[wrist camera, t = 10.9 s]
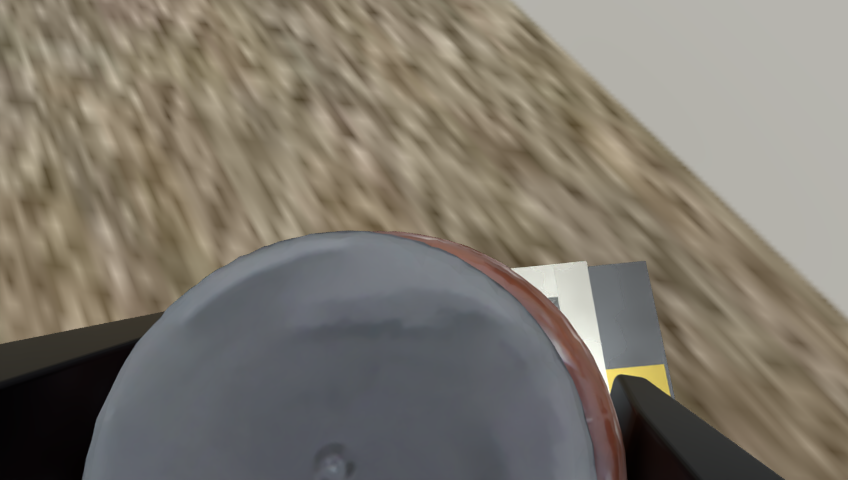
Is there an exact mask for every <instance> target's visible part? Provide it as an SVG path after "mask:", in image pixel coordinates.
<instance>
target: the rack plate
mask: <svg viewBox="0 0 848 480" xmlns="http://www.w3.org/2000/svg"><path fill="white" fill-rule="evenodd" d="M512 270H513V271H515V272H516V273H517V274H519V275H520V276H522V277H523V278H524V279H526V280H527V281H528V282H529V283H531V284H532V285H533V286H535V287H536V288H537V289H538V290H540V291H541V292H542V293H543V294H544V295H545V296H546V297H547V298H548V299H549V300H550V301H551V302H552V303H553V304H554V305H555V306H556V307H557V308H558V309H559V310H560V311H561V312H562V313H563V314H564V315H565V316H566V317H567V319H568V320H569V322H570V323H571V324H572V326H573V327H574V329H575V330H576V332H577V333H578V334H579V336H580V337H581V339H582V340H583V341H584V343H585V344H586V346H587V347H588V348H589V350H590V352H591V354H592V355H593V357H594V359H595V362H596V364H597V366H598V368H599V370H600V372H601V374H602V376H603V378H604V380H605V383H606V385H607V388H608V391H609V393H610V392H611V388H612V384H613V381H614V378H615V377H616V376H617V375H619V374H625V375H631V376H637V377H642V378H645V379H647V380H648V381H650V382H651V383H652V384H654V385H655V386H657V387H658V388H659V389H661V390H662V391H663V392H665V393H666V394H668V395H669V396H670V397H672V398H673V399H674V400H675V398H674V393H673V388H672V383H671V379H670V374H669V369H668V365H667V360H666V355H665V350H664V346H663V341H662V336H661V332H660V327H659V322H658V318H657V313H656V308H655V303H654V299H653V294H652V289H651V285H650V280H649V275H648V270H647V266H646V261H639V262H629V263H620V264H610V265H600V266H590V267H587V262H586V261H582V262H572V263H562V264H552V265H542V266H533V267H523V268H513V269H512Z"/></svg>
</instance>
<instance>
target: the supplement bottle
mask: <svg viewBox="0 0 848 480" xmlns="http://www.w3.org/2000/svg"><path fill="white" fill-rule="evenodd" d="M82 480H627V470H626V457H625V448H624V444H623V437H622V431H621V428H620V424H619V421H618V417H617V414H616V411H615V408H614V405H613V402H612V399H611V396H610V393H609V391H608V388H607V385H606V383H605V380H604V378H603V376H602V374H601V372H600V370H599V368H598V366H597V364H596V362H595V359H594V357H593V355H592V354H591V352H590V350H589V348H588V347H587V346H586V344H585V343H584V341H583V340H582V339H581V337H580V336H579V334H578V333H577V332H576V330H575V329H574V327H573V326H572V324H571V323H570V322H569V320H568V319H567V317H566V316H565V315H564V314H563V313H562V312H561V311H560V310H559V309H558V308H557V307H556V306H555V305H554V304H553V303H552V302H551V301H550V300H549V299H548V298H547V297H546V296H545V295H544V294H543V293H542V292H541V291H540V290H538V289H537V288H536V287H535V286H533V285H532V284H531V283H529V282H528V281H527V280H526V279H524V278H523V277H522V276H520V275H519V274H517V273H516V272H515V271H513V270H512V269H510V268H509V267H507V266H506V265H504V264H503V263H501V262H499V261H497V260H495V259H493V258H491V257H489V256H487V255H485V254H483V253H481V252H479V251H477V250H474V249H472V248H470V247H468V246H465V245H462V244H458V243H455V242H452V241H448V240H445V239H441V238H436V237H431V236H426V235H420V234H414V233H405V232H397V231H392V232H383V231H373V232H370V231H337V232H326V233H315V234H309V235H306V236H302V237H297V238H292V239H288V240H284V241H280V242H277V243H274V244H272V245H269V246H264V247H262V248H260V249H258V250H256V251H254V252H252V253H250V254H247V255H244V256H240V257H238V258H237V259H235V260H234V261H232V262H231V263H229V264H228V265H225V266H223V267H221V268H219V269H217V270H215V271H214V272H213V273H211V274H210V275H208V276H207V277H205V278H204V279H203V280H202V281H200V282H199V283H198V284H197V285H195V286H194V287H192V288H191V289H189V290H188V291H187V292H186V293H185V294H184V295H183V296H181V297H180V298H179V299H178V300H177V301H175V302H174V303H173V304H172V305H170V306H169V307H168V308H167V310H166V311H165V312H164V314H163V315H162V316H161V318H160V319H159V320H158V321H157V322H156V323H154V324H153V326H152V327H151V328H150V329H149V330H148V331H147V332H146V333H145V334H144V335H143V337H142V338H141V339H140V340H139V341H138V342H137V343H136V345H135V346H134V348H133V350H132V351H131V353H130V354H129V356H128V357H127V359H126V361H125V362H124V364H123V366H122V367H121V369H120V371H119V373H118V375H117V377H116V380H115V382H114V384H113V386H112V388H111V390H110V392H109V394H108V396H107V399H106V401H105V403H104V405H103V407H102V409H101V411H100V413H99V415H98V417H97V419H96V423H95V428H94V432H93V437H92V441H91V444H90V448H89V451H88V454H87V457H86V462H85V467H84V472H83V477H82Z"/></svg>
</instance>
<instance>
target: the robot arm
mask: <svg viewBox="0 0 848 480" xmlns="http://www.w3.org/2000/svg"><path fill="white" fill-rule="evenodd" d="M163 314H164V312H160V313H155V314H150V315H145V316H140V317H135V318H129V319H124V320H119V321H114V322H109V323H104V324H99V325H94V326H89V327H84V328H79V329H74V330H69V331H64V332H59V333H54V334H49V335H44V336H39V337H34V338H29V339H24V340H19V341H14V342H9V343H4V344H0V480H82V477H83V472H84V467H85V462H86V457H87V454H88V451H89V448H90V444H91V441H92V437H93V432H94V428H95V423H96V419H97V417H98V415H99V413H100V411H101V409H102V407H103V405H104V403H105V401H106V399H107V396H108V394H109V392H110V390H111V388H112V386H113V384H114V382H115V380H116V377H117V375H118V373H119V371H120V369H121V367H122V366H123V364H124V362H125V361H126V359H127V357H128V356H129V354H130V353H131V351H132V350H133V348H134V346H135V345H136V343H137V342H138V341H139V340H140V339H141V338H142V337H143V335H144V334H145V333H146V332H147V331H148V330H149V329H150V328H151V327H152V326H153V324H154V323H156V322H157V321H158V320H159V319H160V318H161V316H162V315H163ZM610 396H611V399H612V402H613V405H614V408H615V411H616V414H617V417H618V421H619V424H620V428H621V431H622V437H623V444H624V448H625V457H626V470H627V480H785V479H783V478H782V477H781V476H779V475H778V474H776V473H775V472H774V471H772V470H771V469H770V468H768V467H767V466H765V465H764V464H763V463H761V462H760V461H759V460H757V459H756V458H754V457H753V456H752V455H750V454H749V453H747V452H746V451H745V450H743V449H742V448H741V447H739V446H738V445H736V444H735V443H734V442H732V441H731V440H730V439H728V438H727V437H725V436H724V435H723V434H721V433H720V432H719V431H717V430H716V429H714V428H713V427H712V426H710V425H709V424H708V423H706V422H705V421H703V420H702V419H701V418H699V417H698V416H696V415H695V414H694V413H692V412H691V411H690V410H688V409H687V408H685V407H684V406H683V405H681V404H680V403H679V402H677V401H676V400H674V399H673V398H672V397H670V396H669V395H668V394H666V393H665V392H663V391H662V390H661V389H659V388H658V387H657V386H655V385H654V384H652V383H651V382H650V381H648V380H647V379H645V378H642V377H637V376H631V375H625V374H619V375H617V376H616V377H615V378H614V381H613V384H612V388H611V392H610Z"/></svg>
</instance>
